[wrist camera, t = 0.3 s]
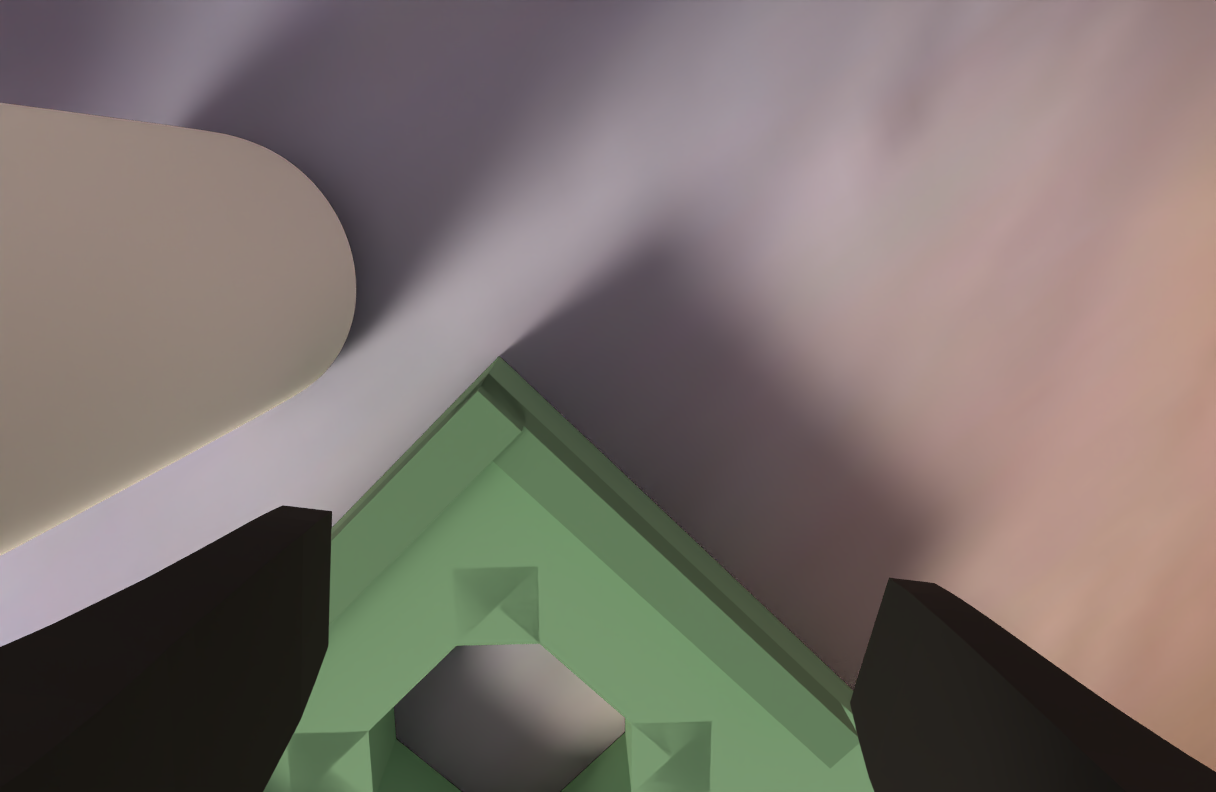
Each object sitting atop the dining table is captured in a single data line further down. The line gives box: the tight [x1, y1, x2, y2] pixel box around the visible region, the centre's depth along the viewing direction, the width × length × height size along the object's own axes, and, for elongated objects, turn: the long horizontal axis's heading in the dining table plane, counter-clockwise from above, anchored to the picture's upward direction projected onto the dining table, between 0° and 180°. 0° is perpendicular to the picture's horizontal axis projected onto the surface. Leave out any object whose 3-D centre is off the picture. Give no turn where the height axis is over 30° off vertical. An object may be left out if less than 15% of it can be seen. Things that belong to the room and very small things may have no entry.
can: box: [0, 103, 356, 556], centre depth 13 cm, size 6×6×12 cm
